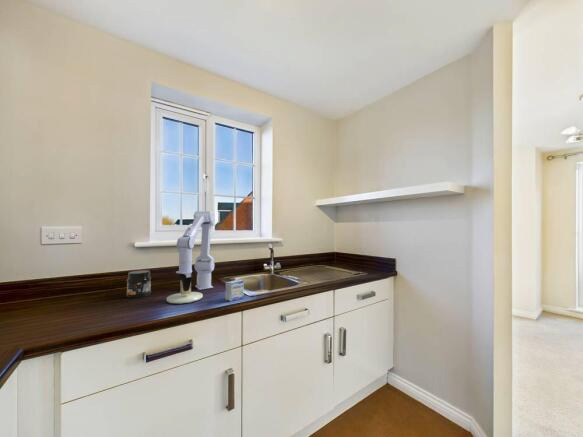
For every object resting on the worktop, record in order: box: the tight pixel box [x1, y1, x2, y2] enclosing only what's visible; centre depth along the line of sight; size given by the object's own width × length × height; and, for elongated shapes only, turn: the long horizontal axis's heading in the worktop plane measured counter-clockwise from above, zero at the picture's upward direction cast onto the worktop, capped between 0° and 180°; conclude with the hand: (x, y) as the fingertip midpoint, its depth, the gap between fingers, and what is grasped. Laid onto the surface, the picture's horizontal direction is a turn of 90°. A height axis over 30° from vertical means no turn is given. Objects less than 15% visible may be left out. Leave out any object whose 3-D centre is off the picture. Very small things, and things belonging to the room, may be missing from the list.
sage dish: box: [166, 291, 204, 304], centre depth 118 cm, size 16×16×2 cm
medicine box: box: [225, 279, 245, 302], centre depth 119 cm, size 8×4×9 cm, turn 143°
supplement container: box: [126, 269, 152, 299], centre depth 126 cm, size 10×10×12 cm
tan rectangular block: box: [179, 281, 192, 295], centre depth 119 cm, size 4×4×6 cm
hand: (185, 289), depth 119 cm, fingers closed on tan rectangular block, 4 cm apart
